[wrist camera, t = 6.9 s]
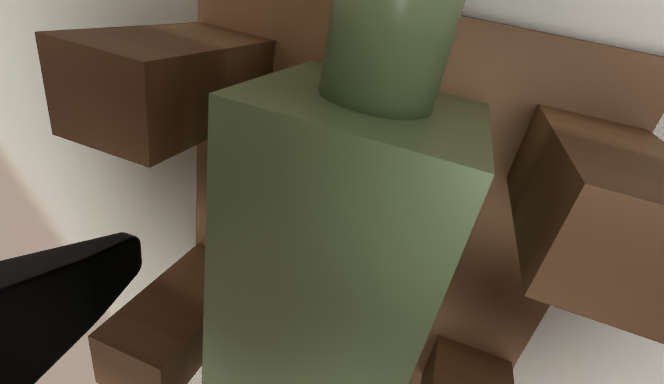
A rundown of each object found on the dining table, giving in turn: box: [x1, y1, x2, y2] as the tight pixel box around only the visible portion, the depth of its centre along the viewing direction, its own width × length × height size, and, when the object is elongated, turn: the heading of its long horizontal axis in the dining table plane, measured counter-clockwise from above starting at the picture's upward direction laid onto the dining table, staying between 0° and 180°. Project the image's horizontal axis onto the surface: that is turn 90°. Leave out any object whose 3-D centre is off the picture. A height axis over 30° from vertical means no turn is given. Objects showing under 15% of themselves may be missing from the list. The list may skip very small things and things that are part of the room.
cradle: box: [35, 0, 664, 384], centre depth 11 cm, size 13×12×6 cm
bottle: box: [202, 0, 495, 384], centre depth 10 cm, size 15×5×5 cm, turn 170°
